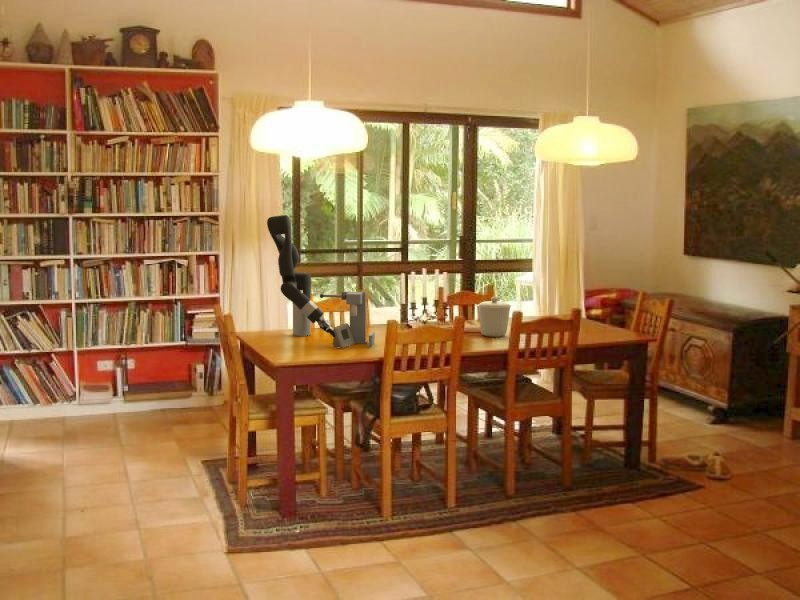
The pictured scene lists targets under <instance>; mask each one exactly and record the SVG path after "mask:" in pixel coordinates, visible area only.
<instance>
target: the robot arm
mask: <svg viewBox="0 0 800 600" xmlns="http://www.w3.org/2000/svg"><path fill="white" fill-rule="evenodd" d="M266 225H267V230H268V232H269V234H270V237H271V238H272V240H273V243H274V244H275V246H276V249H277V252H278V254H279V255H278V258H277V265H278V270H279V271H278V272H279V276H280V277H281V280H282V284H281V286H280V292H281V293H282V295H283V296H284V297H285V298H286V299H288V300H289V301H290V302H291V303H292V335H293V336H296V337H305V336H306V337H307V335H308V336H310V335H311V323H312V324H315V323H317V325H318V327H319V328H320V329H321V330H323V331H324V332H326V334H329V335H331V337H333V338H335V337H336V336H335V333H334V327H333V326H332V324H331V323H330V322H329V320H328V319H326V318H325V317H323V315H324V312H323V310H322V309H320V308H319V306H317V304H316V303H315V302H313V301H312V300H311V297H312V296H311V295H312V294H311V293H312V292H311V291H312V276H311V274H310V273H308V272H297V271H296V270H295V269H296V267H297V266H298V263H299V261H300V254H299V252H298V249H297V247H296V244H294V243H293V242H292V241H293V240H292V239H293V238H292V237H293V236H292V234H293V233H292V222H291V219H290V217H289V215H287V214H284V215H274V216H270V217H268V218H267V220H266ZM301 291H302V292H301Z"/></svg>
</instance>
